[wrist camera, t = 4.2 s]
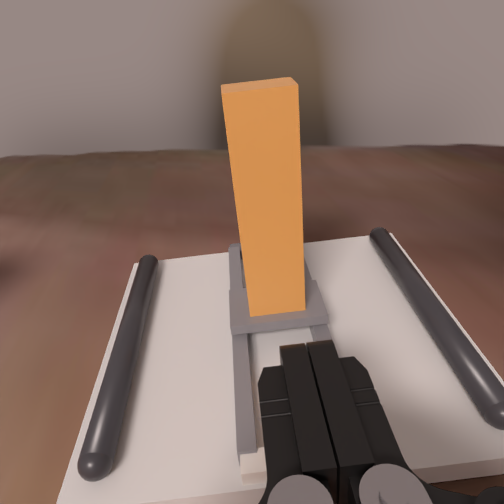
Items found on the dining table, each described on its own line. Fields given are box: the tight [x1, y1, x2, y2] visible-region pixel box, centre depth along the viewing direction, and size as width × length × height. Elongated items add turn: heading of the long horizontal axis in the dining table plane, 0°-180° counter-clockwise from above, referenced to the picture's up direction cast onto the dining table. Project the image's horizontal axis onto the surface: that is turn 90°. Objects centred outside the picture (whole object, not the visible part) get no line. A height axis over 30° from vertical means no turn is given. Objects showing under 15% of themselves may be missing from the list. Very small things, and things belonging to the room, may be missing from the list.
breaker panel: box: [56, 227, 504, 504], centre depth 23 cm, size 20×18×3 cm
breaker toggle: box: [221, 77, 328, 335], centre depth 20 cm, size 5×3×12 cm, turn 94°
